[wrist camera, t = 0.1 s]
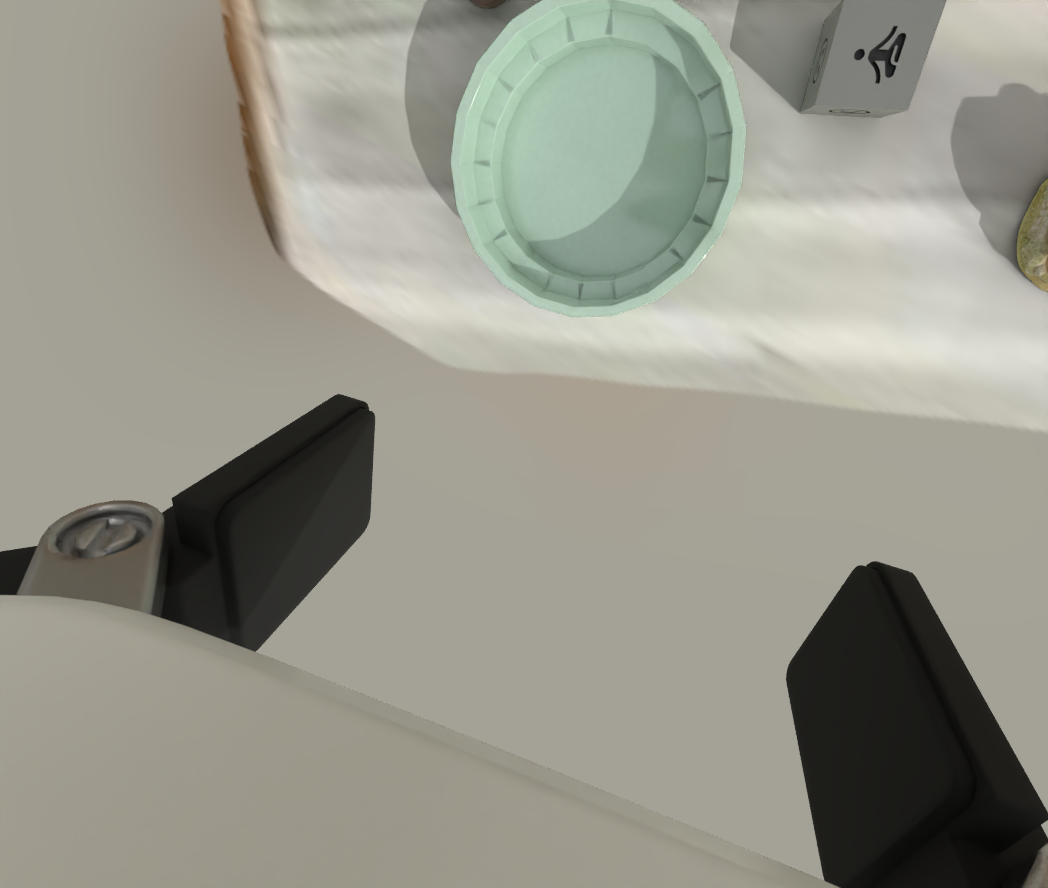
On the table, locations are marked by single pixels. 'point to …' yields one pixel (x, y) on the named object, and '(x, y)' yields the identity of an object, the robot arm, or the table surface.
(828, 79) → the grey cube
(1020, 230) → the ceramic model
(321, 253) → the table surface
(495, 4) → the muddler
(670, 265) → the bowl
